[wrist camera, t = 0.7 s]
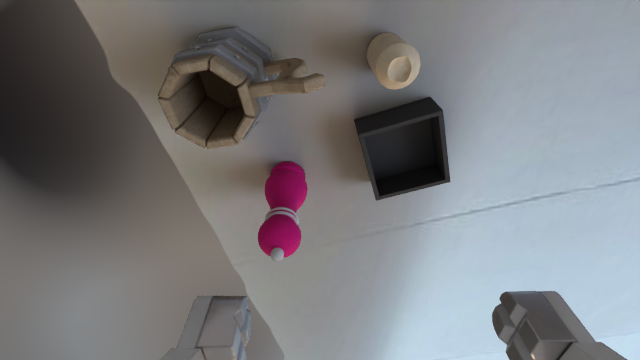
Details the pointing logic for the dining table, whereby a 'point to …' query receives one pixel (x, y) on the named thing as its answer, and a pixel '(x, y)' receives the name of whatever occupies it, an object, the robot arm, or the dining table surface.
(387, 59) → the candle
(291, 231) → the pepper mill
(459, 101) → the dining table surface
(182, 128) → the tankard
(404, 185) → the box
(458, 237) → the dining table surface
